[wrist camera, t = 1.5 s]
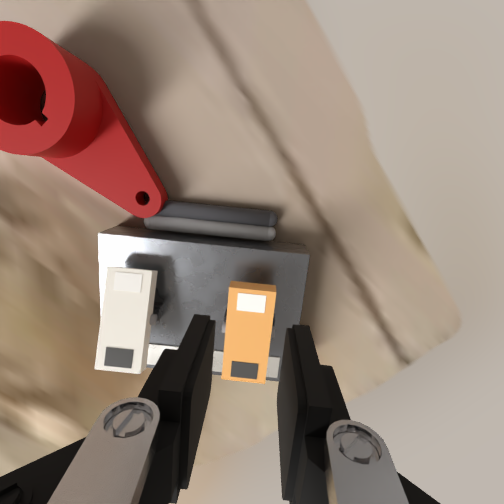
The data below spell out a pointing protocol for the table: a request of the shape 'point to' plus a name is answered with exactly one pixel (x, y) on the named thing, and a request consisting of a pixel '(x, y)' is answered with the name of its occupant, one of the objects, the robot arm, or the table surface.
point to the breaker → (126, 320)
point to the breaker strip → (207, 282)
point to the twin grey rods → (214, 220)
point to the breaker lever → (248, 331)
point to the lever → (71, 121)
